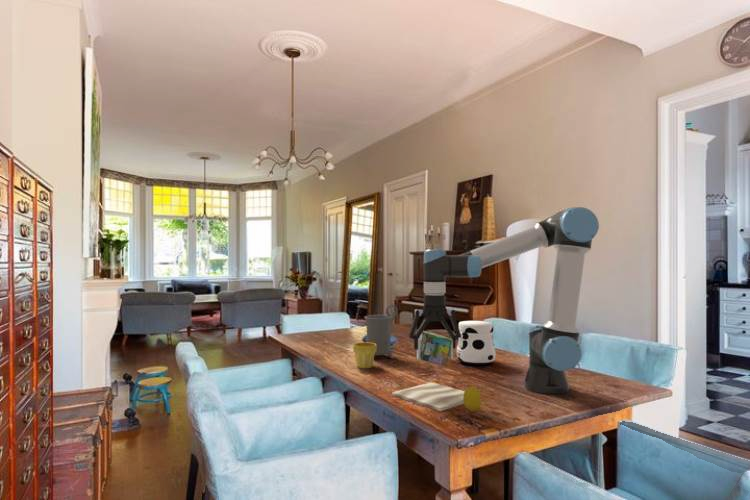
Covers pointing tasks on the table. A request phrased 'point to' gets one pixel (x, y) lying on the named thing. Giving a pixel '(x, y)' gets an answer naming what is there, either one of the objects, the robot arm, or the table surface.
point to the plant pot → (364, 354)
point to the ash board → (432, 396)
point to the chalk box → (434, 348)
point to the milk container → (476, 342)
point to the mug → (380, 331)
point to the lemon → (472, 398)
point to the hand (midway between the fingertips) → (434, 358)
